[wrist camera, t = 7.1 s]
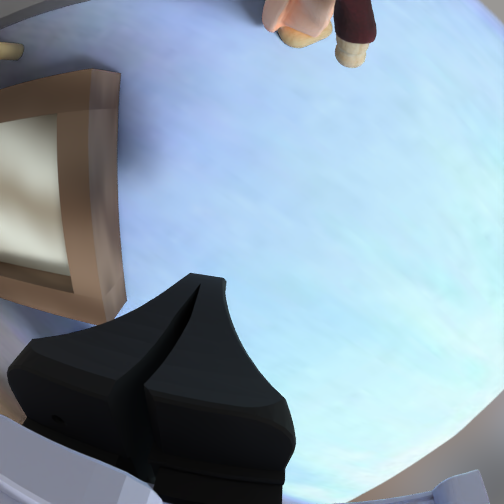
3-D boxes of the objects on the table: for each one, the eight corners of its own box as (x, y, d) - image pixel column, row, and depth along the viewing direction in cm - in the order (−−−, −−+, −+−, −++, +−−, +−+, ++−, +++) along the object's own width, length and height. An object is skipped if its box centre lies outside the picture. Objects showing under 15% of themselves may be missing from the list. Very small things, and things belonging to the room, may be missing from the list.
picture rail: (214, 43, 13) (196, 23, 10) (-67, 96, 14) (-96, 102, 10) (232, -54, 10) (221, -89, 7) (-58, 33, 11) (-86, 34, 7)
